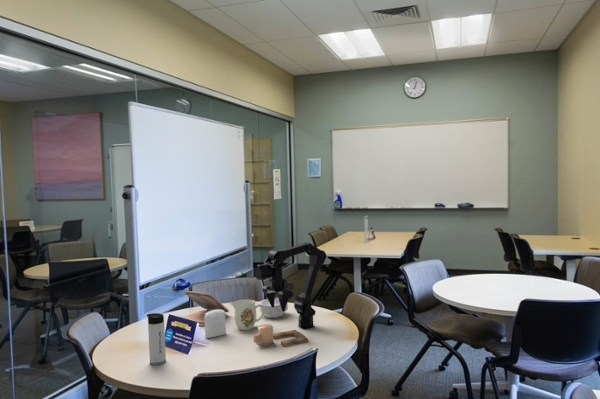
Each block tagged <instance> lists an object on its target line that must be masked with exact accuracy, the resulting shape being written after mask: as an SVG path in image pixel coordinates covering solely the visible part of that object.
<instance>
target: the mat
mask: <svg viewBox="0 0 600 399" xmlns="http://www.w3.org/2000/svg"><path fill="white" fill-rule="evenodd" d="M255 344H256V345H257V346H258V347H259V348H260V349H261V350H262V349H268V348H272V347H277V343H275V342H274V341H273V344H272V345H269V346H261V345H259V342H257V343H255Z"/></svg>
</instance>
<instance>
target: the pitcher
mask: <svg viewBox="0 0 600 399" xmlns="http://www.w3.org/2000/svg"><path fill="white" fill-rule="evenodd" d="M228 304H229V305H231V306H232V307H233V308H234V311H233V312H234V314H233V317H234V322H235V324H236V326H237V328H238V329H239V330H240V331H249V330H252V329H253V328H254V326H255V324H256V323H257V322H259V321H260V320H262V319H263V317H264V316H265V315H264V307H263V306H262V305H261V304H260V303H257V304H256V300H253V299H247V298H245V299H238V300H234V301H230V302H228ZM255 304H256V305H255ZM258 307H259V308H260V307H261V309H262V313H261V314H260V315H259V317H257V310H256V309H257V308H258Z"/></svg>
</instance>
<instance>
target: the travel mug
mask: <svg viewBox="0 0 600 399" xmlns="http://www.w3.org/2000/svg"><path fill="white" fill-rule="evenodd" d="M146 317H147V322H148V323H147V329H148V332H147V333H148V348H149V349H148V350H149V351H148V352H149V354H148V355H149V364H150V365H152V366H158V365H163V364H164V363H165V362H166V361H167V357H166V356H167V355H166V354H167V353H166V337H165V336H166V335H165V334H166V333H165V332H166V330H165V316H164V314H163V313H159V312H158V313H155V312H154V313H147V315H146Z"/></svg>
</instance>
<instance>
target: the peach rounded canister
mask: <svg viewBox="0 0 600 399" xmlns="http://www.w3.org/2000/svg"><path fill="white" fill-rule="evenodd" d="M257 330H258V331H257V333H256V334H253V343H255V344H256V343H257V342H259V345H261V346H269V345H272V344H273V342H274V339H273V334H274V326H273V325H272V324H270V323H269V324H267V323H264V324H261V325H258V326H257Z"/></svg>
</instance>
